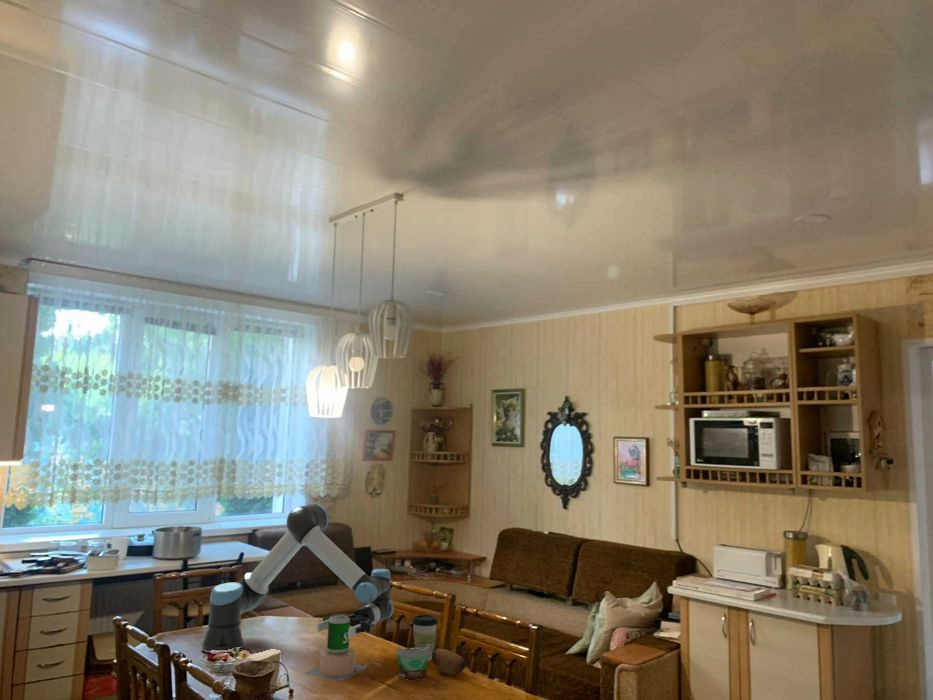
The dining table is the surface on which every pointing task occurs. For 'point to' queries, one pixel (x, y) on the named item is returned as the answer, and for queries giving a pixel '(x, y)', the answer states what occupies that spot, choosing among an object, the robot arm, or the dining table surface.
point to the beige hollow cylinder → (336, 663)
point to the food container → (413, 662)
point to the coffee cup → (425, 631)
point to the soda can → (338, 634)
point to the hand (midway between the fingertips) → (333, 630)
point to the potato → (448, 661)
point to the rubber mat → (316, 673)
